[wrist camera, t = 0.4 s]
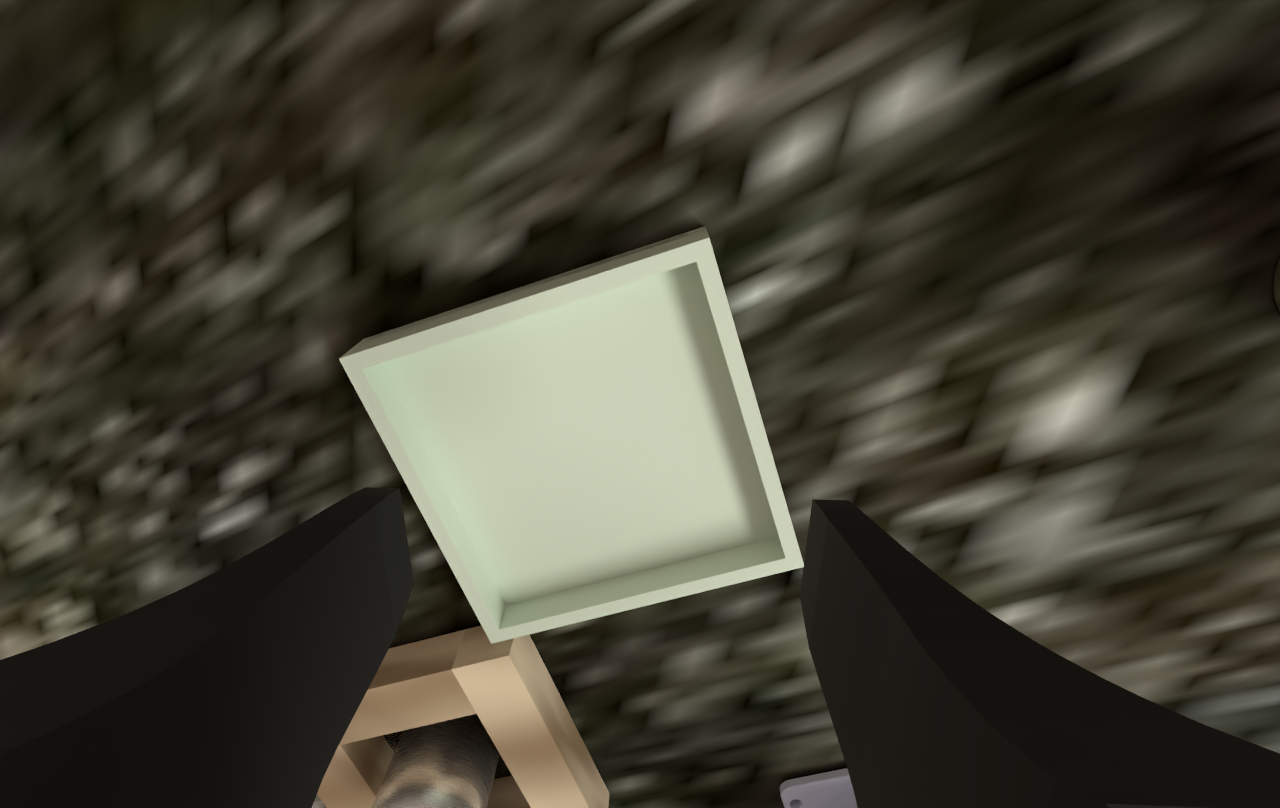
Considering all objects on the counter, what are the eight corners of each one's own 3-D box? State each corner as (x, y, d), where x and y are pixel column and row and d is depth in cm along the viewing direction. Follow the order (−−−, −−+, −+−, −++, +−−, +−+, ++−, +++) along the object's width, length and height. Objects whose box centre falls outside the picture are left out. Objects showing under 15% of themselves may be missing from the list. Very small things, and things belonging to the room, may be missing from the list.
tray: (794, 534, 24) (804, 566, 22) (502, 608, 25) (491, 643, 24) (705, 226, 20) (709, 237, 18) (363, 338, 21) (338, 358, 20)
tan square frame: (609, 793, 29) (606, 839, 27) (399, 836, 31) (382, 882, 29) (519, 615, 26) (508, 655, 24) (285, 674, 27) (258, 716, 25)
